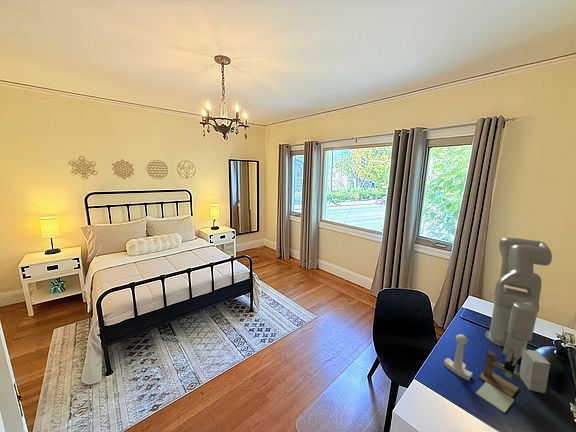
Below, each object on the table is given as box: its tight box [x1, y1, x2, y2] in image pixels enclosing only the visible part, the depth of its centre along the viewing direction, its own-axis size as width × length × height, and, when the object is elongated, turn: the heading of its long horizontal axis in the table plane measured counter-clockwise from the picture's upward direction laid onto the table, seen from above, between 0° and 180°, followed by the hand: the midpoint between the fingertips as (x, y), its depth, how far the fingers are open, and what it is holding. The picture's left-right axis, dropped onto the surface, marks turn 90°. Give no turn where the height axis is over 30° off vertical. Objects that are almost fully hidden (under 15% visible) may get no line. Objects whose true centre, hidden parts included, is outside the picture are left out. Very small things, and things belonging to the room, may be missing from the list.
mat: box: [475, 381, 515, 414], centre depth 104 cm, size 10×10×1 cm
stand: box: [478, 350, 520, 398], centre depth 109 cm, size 8×12×13 cm, turn 31°
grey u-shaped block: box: [504, 356, 519, 379], centre depth 105 cm, size 7×2×8 cm, turn 121°
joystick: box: [443, 333, 473, 381], centre depth 116 cm, size 11×8×20 cm
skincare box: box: [518, 349, 551, 394], centre depth 108 cm, size 8×6×15 cm
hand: (512, 366), depth 106 cm, fingers closed on grey u-shaped block, 7 cm apart
